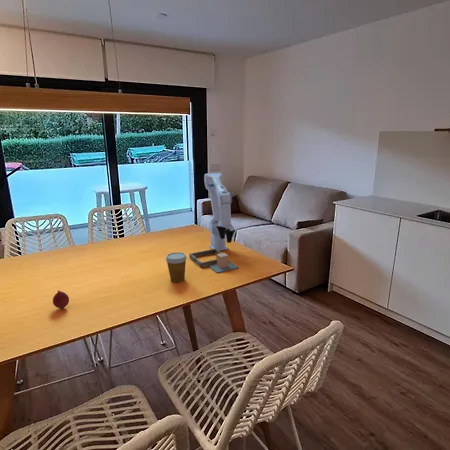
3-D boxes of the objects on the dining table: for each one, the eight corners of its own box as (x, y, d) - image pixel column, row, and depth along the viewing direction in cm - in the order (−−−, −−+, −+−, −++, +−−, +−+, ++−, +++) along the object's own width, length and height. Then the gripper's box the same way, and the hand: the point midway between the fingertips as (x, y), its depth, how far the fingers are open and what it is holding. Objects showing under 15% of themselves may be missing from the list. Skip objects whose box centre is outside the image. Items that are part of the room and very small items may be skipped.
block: (216, 265, 173) (216, 254, 171) (224, 263, 175) (224, 252, 173) (220, 268, 169) (220, 257, 168) (228, 266, 171) (228, 255, 169)
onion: (72, 304, 138) (69, 286, 136) (66, 312, 133) (63, 293, 131) (58, 305, 138) (54, 287, 136) (51, 312, 133) (48, 293, 130)
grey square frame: (189, 258, 185) (189, 253, 184) (215, 252, 192) (215, 248, 191) (201, 267, 172) (201, 263, 171) (228, 261, 179) (228, 257, 178)
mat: (208, 266, 173) (208, 265, 173) (229, 262, 178) (229, 260, 178) (216, 273, 165) (216, 272, 165) (238, 268, 170) (238, 267, 170)
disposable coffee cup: (189, 275, 163) (188, 252, 160) (185, 284, 154) (184, 259, 151) (170, 275, 164) (168, 251, 161) (164, 284, 155) (163, 259, 152)
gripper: (212, 214, 184) (213, 238, 187) (225, 219, 171) (225, 245, 175) (224, 212, 187) (224, 236, 190) (237, 218, 174) (237, 243, 178)
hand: (225, 240), depth 183 cm, fingers open, 7 cm apart
